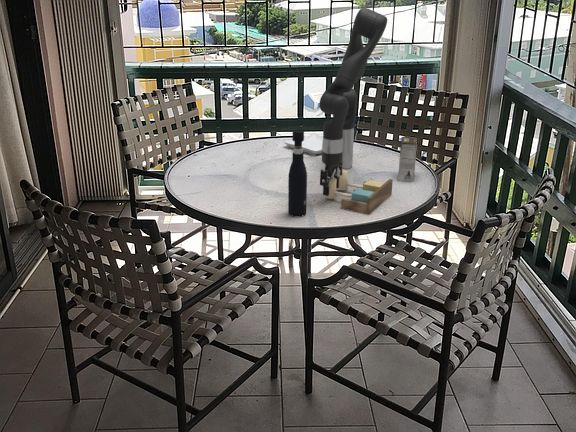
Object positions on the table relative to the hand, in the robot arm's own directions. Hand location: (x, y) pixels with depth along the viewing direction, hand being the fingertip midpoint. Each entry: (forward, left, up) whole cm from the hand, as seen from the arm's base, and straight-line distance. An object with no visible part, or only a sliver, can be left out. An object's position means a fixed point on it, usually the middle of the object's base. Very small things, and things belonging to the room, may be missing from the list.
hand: (330, 191), depth 232 cm
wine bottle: (-5, -18, -3) cm, 19 cm away
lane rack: (+12, +5, -3) cm, 14 cm away
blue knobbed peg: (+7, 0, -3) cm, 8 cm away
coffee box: (+16, +37, -3) cm, 41 cm away
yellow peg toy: (+7, +11, -3) cm, 13 cm away
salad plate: (-35, +55, -4) cm, 65 cm away
